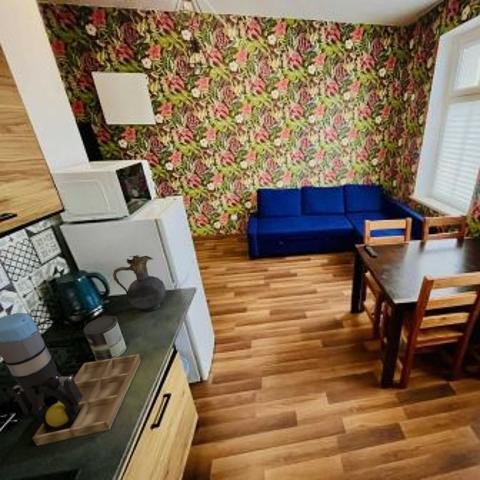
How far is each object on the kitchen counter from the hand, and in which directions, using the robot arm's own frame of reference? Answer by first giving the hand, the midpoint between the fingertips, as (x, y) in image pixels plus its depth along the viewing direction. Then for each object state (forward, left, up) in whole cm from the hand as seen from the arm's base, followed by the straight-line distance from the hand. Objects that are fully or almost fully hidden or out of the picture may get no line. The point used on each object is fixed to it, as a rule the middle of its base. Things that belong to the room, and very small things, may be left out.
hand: (63, 422), depth 81 cm
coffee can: (+1, +30, -2) cm, 30 cm away
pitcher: (+6, +58, -2) cm, 58 cm away
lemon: (0, 0, -1) cm, 1 cm away
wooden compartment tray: (+5, +9, -1) cm, 10 cm away
